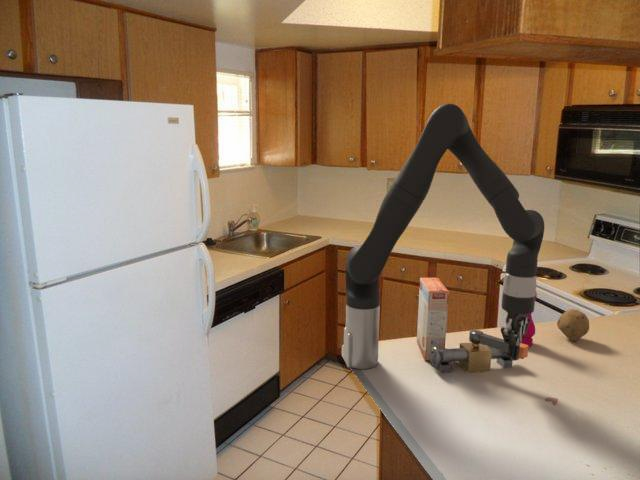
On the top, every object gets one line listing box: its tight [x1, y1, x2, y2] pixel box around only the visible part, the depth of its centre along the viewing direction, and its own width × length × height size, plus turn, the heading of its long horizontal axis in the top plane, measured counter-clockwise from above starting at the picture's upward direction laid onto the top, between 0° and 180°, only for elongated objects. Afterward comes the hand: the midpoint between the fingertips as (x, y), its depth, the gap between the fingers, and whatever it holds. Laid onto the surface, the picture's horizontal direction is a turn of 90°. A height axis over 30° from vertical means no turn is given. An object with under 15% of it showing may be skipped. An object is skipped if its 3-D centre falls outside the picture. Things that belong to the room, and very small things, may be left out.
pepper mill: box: [521, 292, 538, 348], centre depth 155 cm, size 7×7×20 cm
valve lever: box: [468, 329, 529, 360], centre depth 135 cm, size 16×4×3 cm, turn 44°
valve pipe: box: [430, 342, 520, 374], centre depth 140 cm, size 24×6×7 cm, turn 100°
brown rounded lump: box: [556, 308, 590, 342], centre depth 159 cm, size 9×9×10 cm
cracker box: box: [416, 277, 450, 361], centre depth 149 cm, size 14×6×21 cm, turn 179°
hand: (513, 357), depth 128 cm, fingers closed
